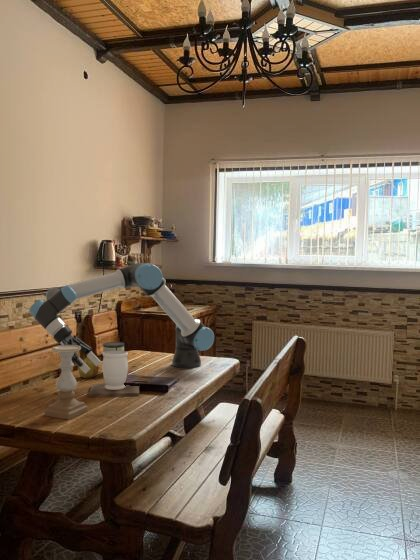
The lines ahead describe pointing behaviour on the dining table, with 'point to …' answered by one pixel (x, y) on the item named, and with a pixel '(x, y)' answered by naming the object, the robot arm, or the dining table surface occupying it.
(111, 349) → the coffee can
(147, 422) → the dining table surface
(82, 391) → the dining table surface
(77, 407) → the candle holder
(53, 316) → the robot arm
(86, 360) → the fruit
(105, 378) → the jar
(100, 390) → the walnut board
